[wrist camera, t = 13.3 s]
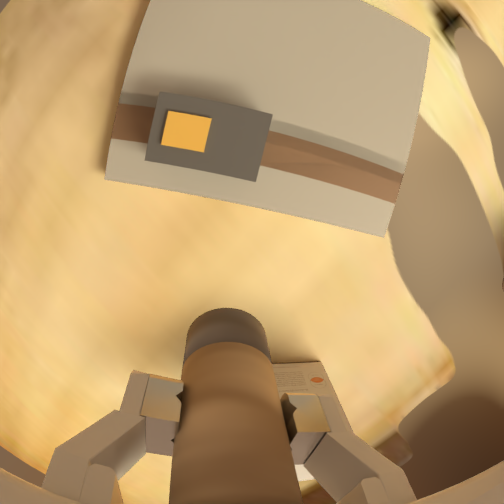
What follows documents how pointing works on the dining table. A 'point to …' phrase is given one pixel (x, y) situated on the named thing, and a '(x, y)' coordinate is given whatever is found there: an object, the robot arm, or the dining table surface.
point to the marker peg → (231, 418)
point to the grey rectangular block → (208, 136)
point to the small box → (306, 391)
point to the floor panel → (283, 101)
